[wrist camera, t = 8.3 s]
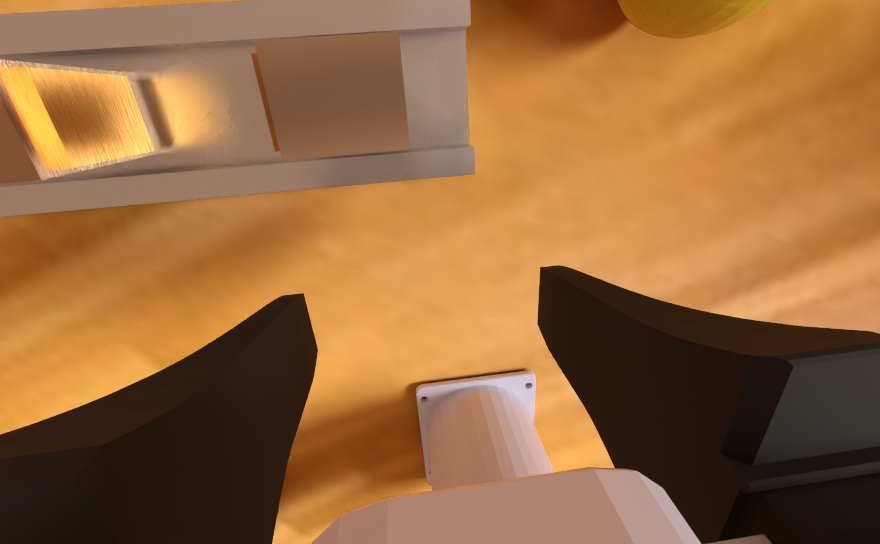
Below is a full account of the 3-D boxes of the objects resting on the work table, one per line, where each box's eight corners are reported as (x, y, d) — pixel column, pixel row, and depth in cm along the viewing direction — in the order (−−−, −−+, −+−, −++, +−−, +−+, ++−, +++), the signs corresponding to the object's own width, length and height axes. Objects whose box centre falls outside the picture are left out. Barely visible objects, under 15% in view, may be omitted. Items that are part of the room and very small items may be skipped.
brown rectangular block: (405, 133, 17) (410, 149, 12) (309, 141, 17) (269, 161, 12) (397, 54, 16) (398, 31, 11) (292, 61, 16) (238, 41, 10)
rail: (467, 167, 19) (501, 198, 13) (5, 208, 18) (-206, 266, 11) (461, 0, 16) (502, -61, 10) (-96, 32, 15) (-457, -17, 8)
